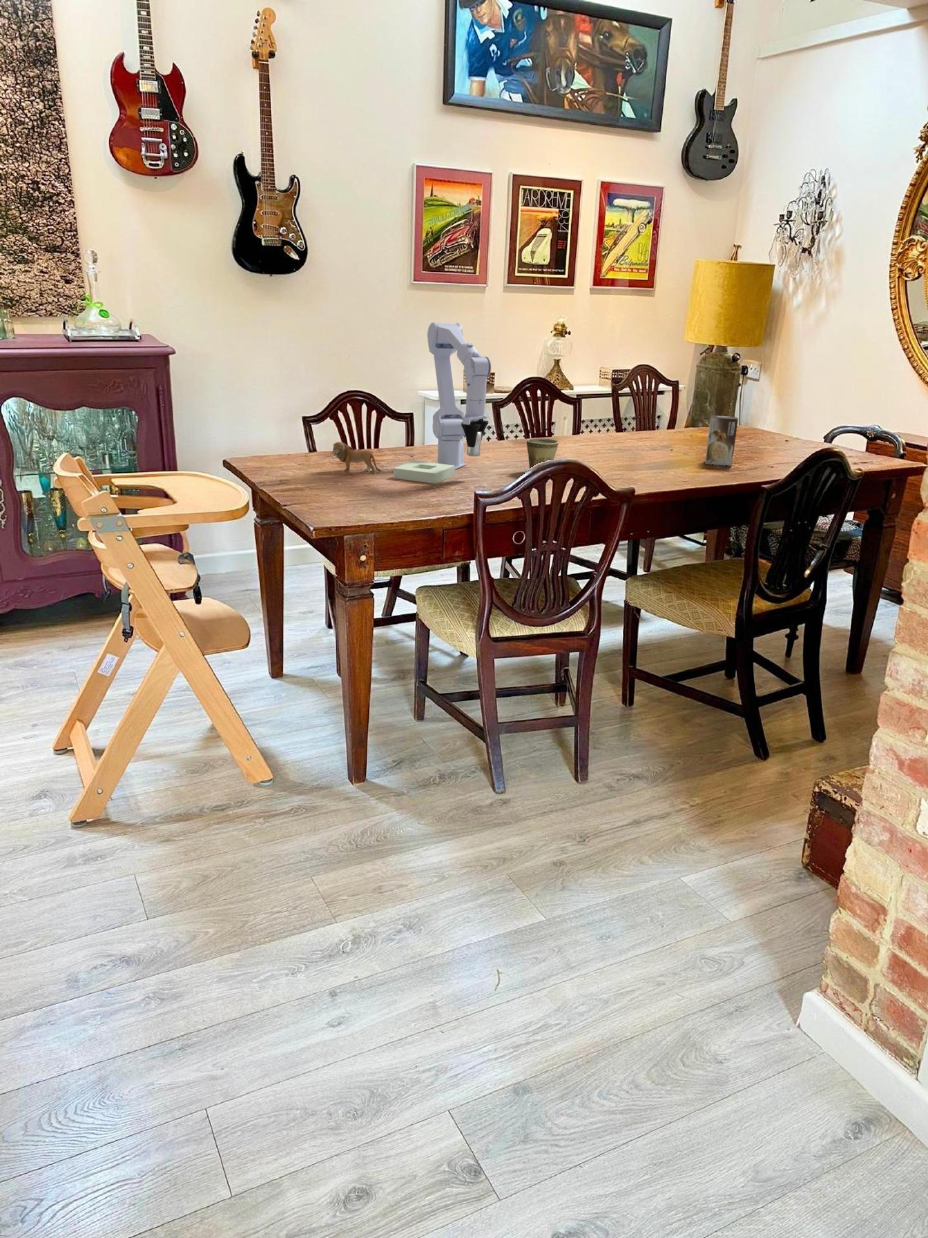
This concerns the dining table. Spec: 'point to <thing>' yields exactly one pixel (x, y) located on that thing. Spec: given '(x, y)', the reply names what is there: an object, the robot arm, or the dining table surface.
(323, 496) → the dining table surface
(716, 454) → the coffee box
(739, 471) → the dining table surface
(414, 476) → the socket block
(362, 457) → the lion figurine
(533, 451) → the ceramic cup
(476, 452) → the peg
